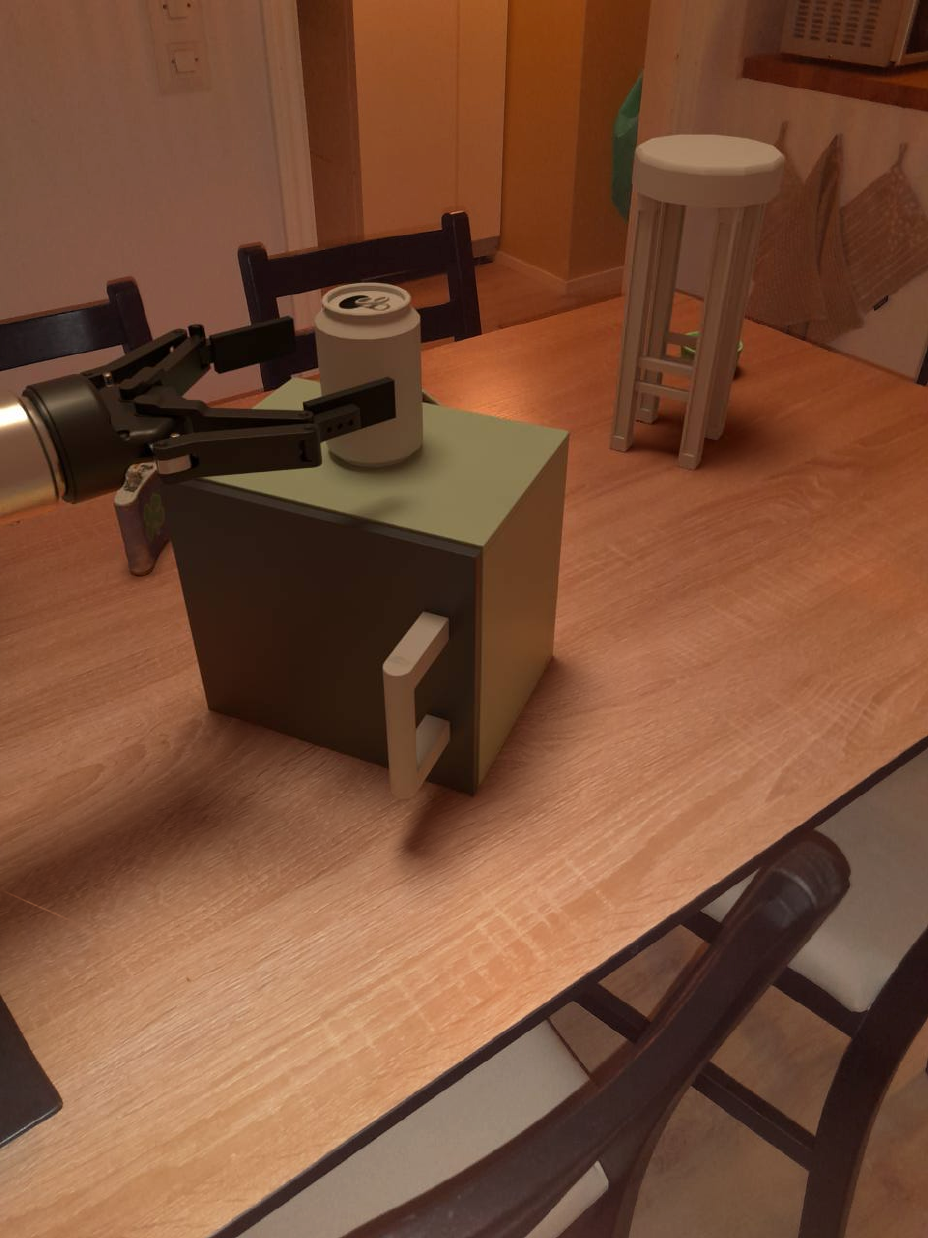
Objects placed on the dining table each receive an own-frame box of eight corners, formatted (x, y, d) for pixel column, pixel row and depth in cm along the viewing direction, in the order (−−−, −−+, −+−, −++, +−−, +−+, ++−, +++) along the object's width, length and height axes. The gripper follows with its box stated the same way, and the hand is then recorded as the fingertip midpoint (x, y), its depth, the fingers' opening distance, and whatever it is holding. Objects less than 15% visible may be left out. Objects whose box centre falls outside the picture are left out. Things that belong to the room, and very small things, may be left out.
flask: (149, 577, 102) (127, 489, 95) (122, 576, 102) (98, 487, 95) (179, 530, 109) (161, 445, 102) (154, 528, 109) (134, 443, 103)
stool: (704, 481, 118) (760, 173, 96) (588, 450, 124) (615, 154, 102) (742, 430, 128) (800, 142, 107) (633, 404, 134) (667, 127, 113)
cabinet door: (436, 861, 73) (431, 617, 58) (158, 761, 81) (93, 525, 66) (478, 788, 79) (482, 549, 64) (214, 701, 86) (165, 472, 72)
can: (358, 419, 79) (348, 270, 71) (440, 438, 76) (438, 286, 69) (307, 459, 73) (290, 303, 66) (394, 481, 71) (386, 321, 63)
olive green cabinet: (479, 787, 79) (483, 545, 64) (216, 701, 87) (167, 469, 72) (552, 656, 92) (570, 430, 77) (318, 591, 100) (293, 376, 85)
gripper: (-2, 428, 69) (263, 357, 79) (133, 595, 54) (442, 480, 64) (-35, 326, 65) (251, 264, 75) (102, 477, 49) (441, 372, 59)
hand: (340, 363), depth 69 cm, fingers open, 13 cm apart
